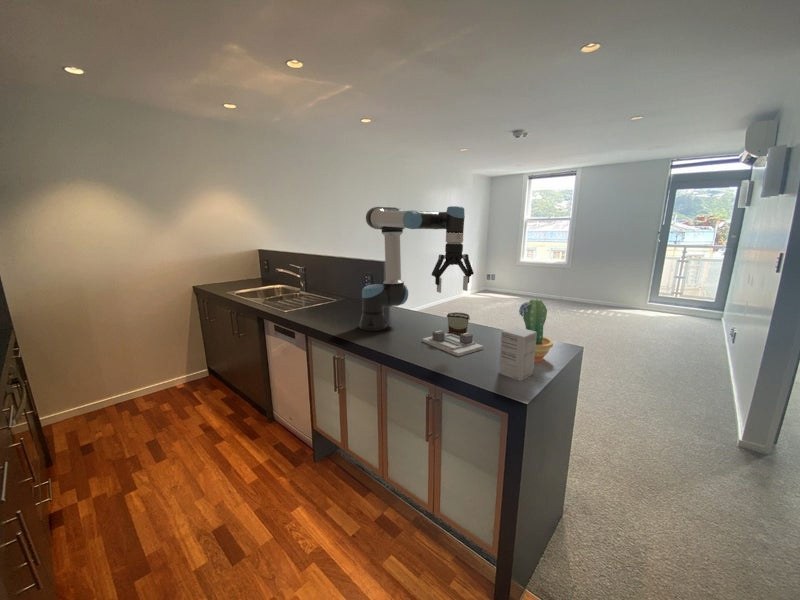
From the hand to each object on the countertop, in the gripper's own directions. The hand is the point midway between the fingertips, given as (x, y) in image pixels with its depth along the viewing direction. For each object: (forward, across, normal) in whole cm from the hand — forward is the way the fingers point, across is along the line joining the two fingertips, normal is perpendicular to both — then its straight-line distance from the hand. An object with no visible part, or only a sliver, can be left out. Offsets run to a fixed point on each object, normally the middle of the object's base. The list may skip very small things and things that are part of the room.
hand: (452, 291), depth 150 cm
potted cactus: (+26, +26, -25) cm, 44 cm away
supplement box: (+26, +8, -36) cm, 45 cm away
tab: (+24, -3, +5) cm, 25 cm away
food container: (+26, +16, +18) cm, 36 cm away
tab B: (+24, +7, -3) cm, 25 cm away
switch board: (+26, +2, +1) cm, 26 cm away
